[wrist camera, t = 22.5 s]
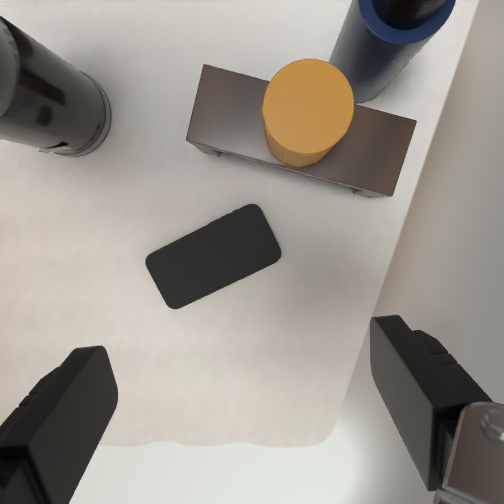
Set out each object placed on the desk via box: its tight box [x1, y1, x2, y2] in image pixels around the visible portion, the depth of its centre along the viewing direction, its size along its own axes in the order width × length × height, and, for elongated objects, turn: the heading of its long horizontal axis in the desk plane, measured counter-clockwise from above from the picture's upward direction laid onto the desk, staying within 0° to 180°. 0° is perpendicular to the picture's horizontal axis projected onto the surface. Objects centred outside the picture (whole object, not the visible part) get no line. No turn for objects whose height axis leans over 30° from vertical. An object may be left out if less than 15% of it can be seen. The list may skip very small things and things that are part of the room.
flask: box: [329, 0, 456, 103], centre depth 29 cm, size 7×7×18 cm
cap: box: [261, 59, 354, 168], centre depth 28 cm, size 6×6×8 cm
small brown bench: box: [186, 64, 417, 198], centre depth 36 cm, size 20×7×7 cm, turn 75°
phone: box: [146, 204, 281, 309], centre depth 41 cm, size 7×1×15 cm
